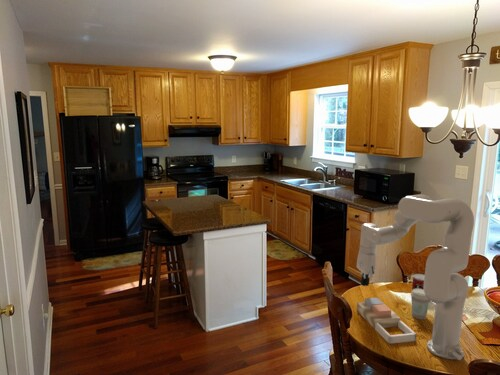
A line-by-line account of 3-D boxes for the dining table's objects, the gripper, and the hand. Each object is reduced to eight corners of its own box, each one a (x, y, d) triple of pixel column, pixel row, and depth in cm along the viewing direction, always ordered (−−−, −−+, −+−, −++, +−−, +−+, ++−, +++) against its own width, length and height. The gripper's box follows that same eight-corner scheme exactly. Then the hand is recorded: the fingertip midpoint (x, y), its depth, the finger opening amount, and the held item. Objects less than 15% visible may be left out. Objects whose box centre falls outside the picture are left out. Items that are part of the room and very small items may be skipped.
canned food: (409, 297, 195) (410, 276, 193) (414, 292, 200) (416, 272, 199) (424, 301, 190) (426, 281, 188) (429, 296, 195) (431, 276, 194)
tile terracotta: (391, 315, 167) (391, 310, 167) (378, 316, 166) (378, 311, 166) (383, 309, 173) (384, 304, 173) (371, 310, 172) (372, 305, 171)
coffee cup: (404, 314, 177) (406, 290, 175) (417, 310, 181) (419, 286, 179) (420, 322, 169) (422, 297, 167) (433, 318, 173) (435, 293, 171)
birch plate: (399, 326, 166) (400, 317, 165) (374, 328, 164) (375, 320, 163) (379, 308, 182) (380, 300, 181) (356, 310, 180) (357, 302, 179)
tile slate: (383, 308, 174) (383, 303, 173) (371, 309, 172) (371, 304, 172) (376, 302, 179) (376, 297, 179) (364, 303, 178) (364, 298, 178)
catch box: (415, 340, 155) (416, 334, 154) (389, 343, 153) (389, 336, 152) (400, 326, 166) (400, 320, 165) (375, 329, 163) (375, 322, 163)
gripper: (353, 244, 187) (350, 279, 190) (368, 255, 172) (365, 292, 176) (367, 243, 188) (364, 278, 191) (383, 254, 174) (379, 291, 177)
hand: (364, 285), depth 184 cm, fingers closed
